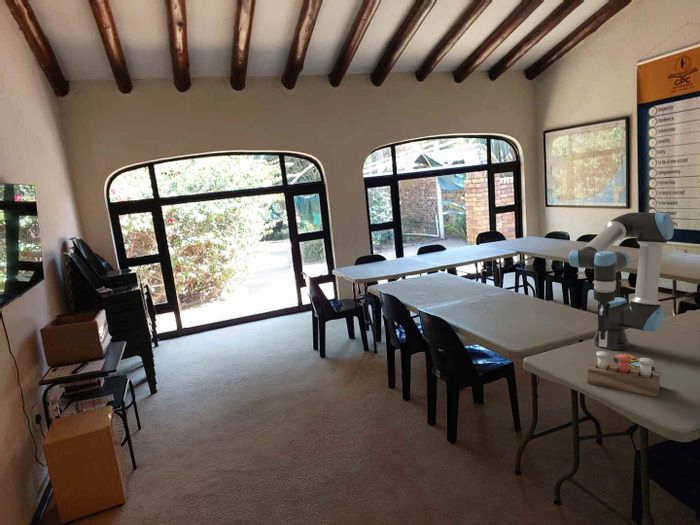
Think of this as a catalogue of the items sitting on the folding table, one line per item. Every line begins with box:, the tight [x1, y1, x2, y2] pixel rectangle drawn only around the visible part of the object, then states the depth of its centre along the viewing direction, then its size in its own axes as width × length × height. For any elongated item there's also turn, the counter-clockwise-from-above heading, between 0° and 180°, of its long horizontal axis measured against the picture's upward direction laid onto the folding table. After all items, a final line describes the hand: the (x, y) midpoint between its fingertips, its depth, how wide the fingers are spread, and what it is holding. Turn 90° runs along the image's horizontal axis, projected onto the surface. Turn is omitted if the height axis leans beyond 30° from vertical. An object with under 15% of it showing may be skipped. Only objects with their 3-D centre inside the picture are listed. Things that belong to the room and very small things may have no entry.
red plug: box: [616, 353, 631, 374], centre depth 184 cm, size 5×5×8 cm
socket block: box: [587, 360, 661, 397], centre depth 185 cm, size 10×24×6 cm, turn 52°
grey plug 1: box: [595, 350, 611, 370], centre depth 189 cm, size 5×5×8 cm
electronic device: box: [613, 353, 656, 371], centre depth 200 cm, size 8×16×3 cm, turn 7°
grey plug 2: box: [638, 357, 654, 378], centre depth 180 cm, size 5×5×8 cm
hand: (602, 346), depth 187 cm, fingers closed
